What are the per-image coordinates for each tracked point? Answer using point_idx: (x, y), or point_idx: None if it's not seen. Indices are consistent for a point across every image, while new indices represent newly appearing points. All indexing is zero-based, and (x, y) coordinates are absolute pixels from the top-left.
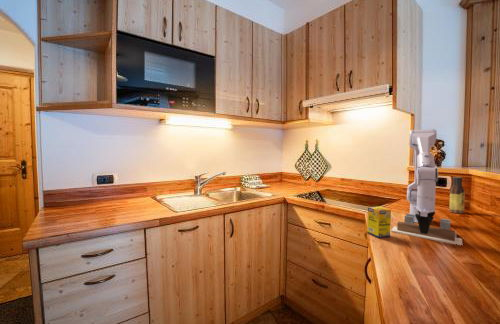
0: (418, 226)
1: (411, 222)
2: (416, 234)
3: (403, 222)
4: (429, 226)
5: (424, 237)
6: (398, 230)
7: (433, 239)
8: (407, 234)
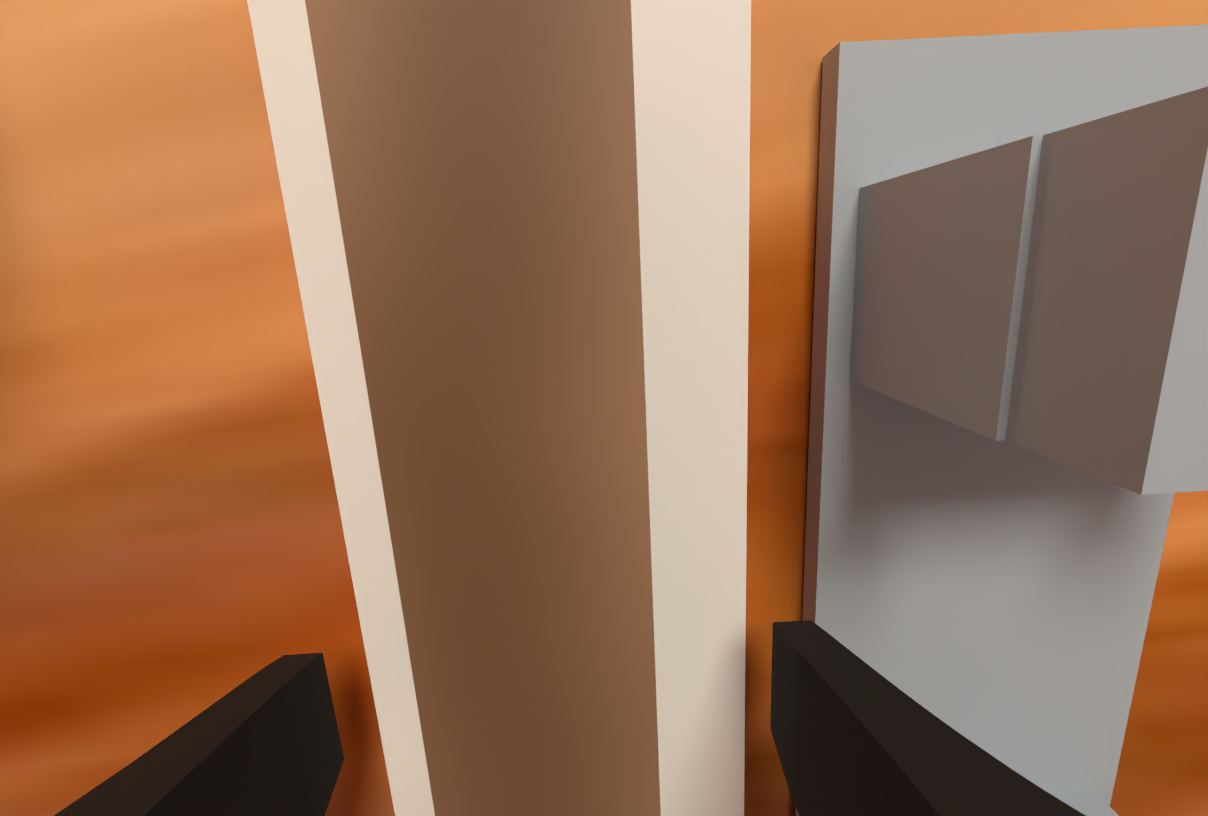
0: (433, 659)
1: (949, 382)
2: None
3: (602, 184)
4: (799, 805)
5: (374, 648)
6: None
7: (395, 762)
8: (326, 361)
